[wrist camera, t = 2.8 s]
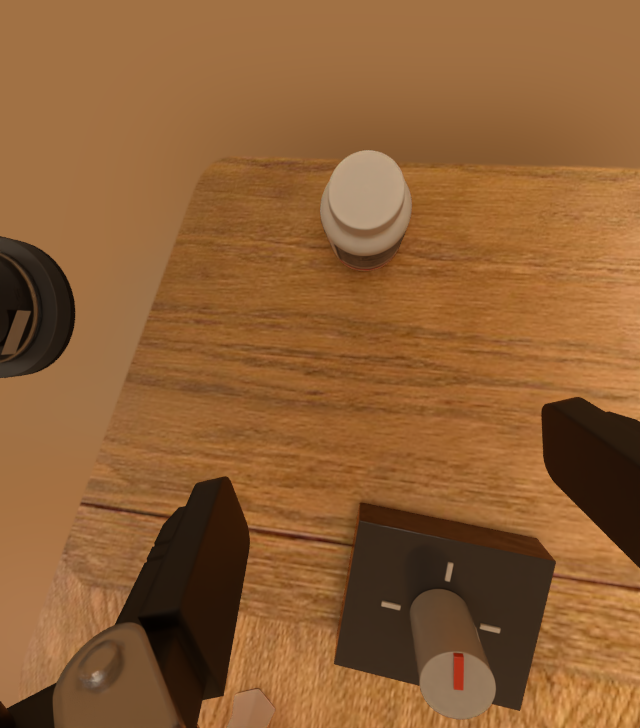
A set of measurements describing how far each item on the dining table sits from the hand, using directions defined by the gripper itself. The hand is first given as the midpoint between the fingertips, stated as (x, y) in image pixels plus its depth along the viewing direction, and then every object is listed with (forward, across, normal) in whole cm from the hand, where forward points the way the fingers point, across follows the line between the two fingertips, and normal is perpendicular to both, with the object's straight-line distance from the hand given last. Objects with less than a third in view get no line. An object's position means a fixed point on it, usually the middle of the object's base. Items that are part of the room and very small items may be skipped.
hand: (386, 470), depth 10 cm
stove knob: (+12, -2, +22) cm, 25 cm away
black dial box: (+15, -3, +23) cm, 27 cm away
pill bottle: (+22, -4, -5) cm, 23 cm away
